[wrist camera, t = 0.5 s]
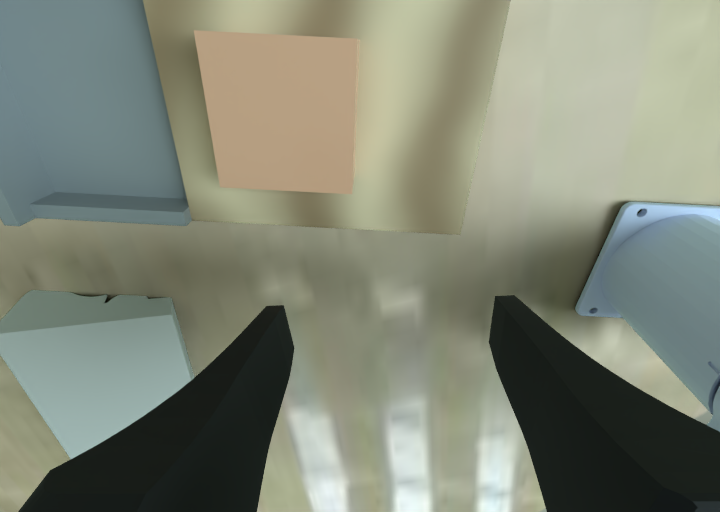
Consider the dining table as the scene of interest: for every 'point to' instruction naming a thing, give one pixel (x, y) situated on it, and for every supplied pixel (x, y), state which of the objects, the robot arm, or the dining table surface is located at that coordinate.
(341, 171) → the tile
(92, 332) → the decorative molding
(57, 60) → the tray
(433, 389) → the dining table surface
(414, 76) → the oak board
